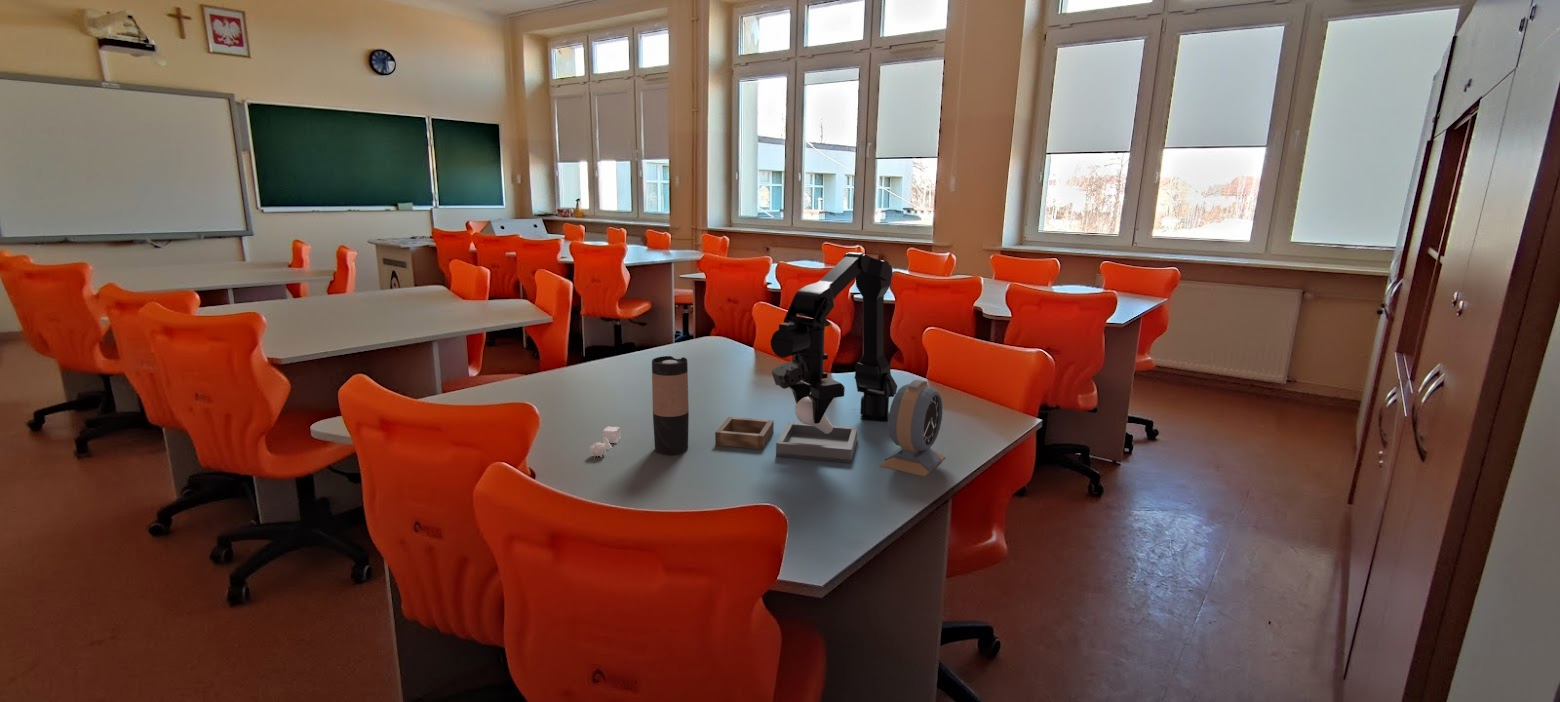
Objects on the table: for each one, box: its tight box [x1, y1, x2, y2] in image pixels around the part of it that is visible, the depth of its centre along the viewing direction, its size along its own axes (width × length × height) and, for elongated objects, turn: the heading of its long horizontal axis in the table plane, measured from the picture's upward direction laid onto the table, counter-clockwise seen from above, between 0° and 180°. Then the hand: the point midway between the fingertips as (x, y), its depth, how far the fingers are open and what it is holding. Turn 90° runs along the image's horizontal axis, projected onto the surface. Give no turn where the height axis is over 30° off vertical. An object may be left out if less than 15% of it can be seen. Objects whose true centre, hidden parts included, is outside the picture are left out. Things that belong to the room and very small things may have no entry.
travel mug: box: [651, 355, 690, 456], centre depth 150 cm, size 8×8×20 cm
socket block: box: [714, 416, 775, 450], centre depth 159 cm, size 11×11×3 cm
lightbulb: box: [794, 397, 834, 434], centre depth 153 cm, size 6×6×11 cm
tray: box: [775, 421, 859, 464], centre depth 154 cm, size 16×14×3 cm
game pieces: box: [589, 425, 622, 458], centre depth 152 cm, size 12×3×3 cm, turn 175°
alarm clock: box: [879, 379, 946, 477], centre depth 146 cm, size 14×10×18 cm
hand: (809, 418), depth 152 cm, fingers closed on lightbulb, 6 cm apart
